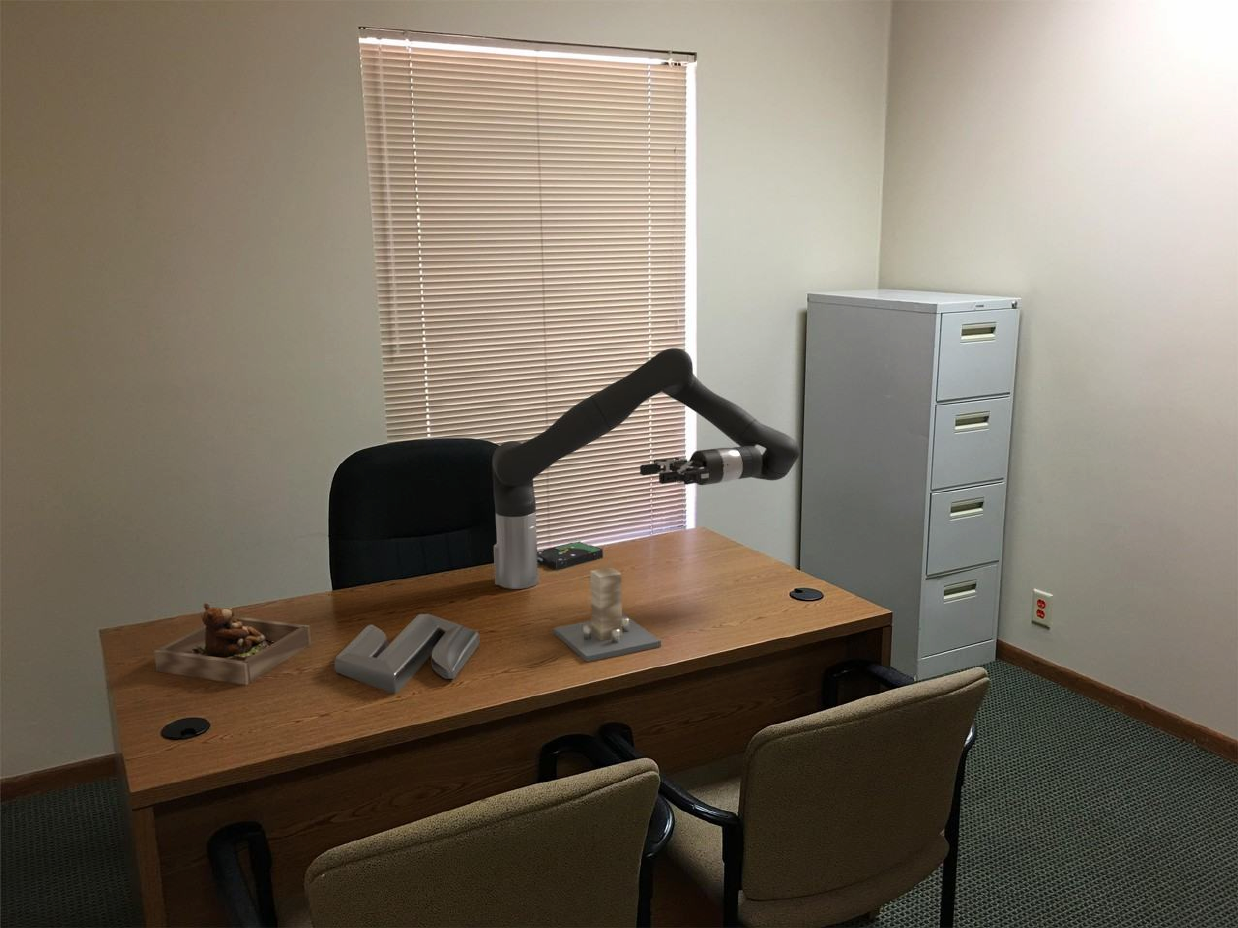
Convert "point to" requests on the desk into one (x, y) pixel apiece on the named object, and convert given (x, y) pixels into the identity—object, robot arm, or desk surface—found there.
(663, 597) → the desk surface
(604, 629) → the birch post
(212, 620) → the bear figurine
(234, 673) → the walnut display rim
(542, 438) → the robot arm
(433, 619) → the emblem
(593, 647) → the slate base plate
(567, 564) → the disk drive
